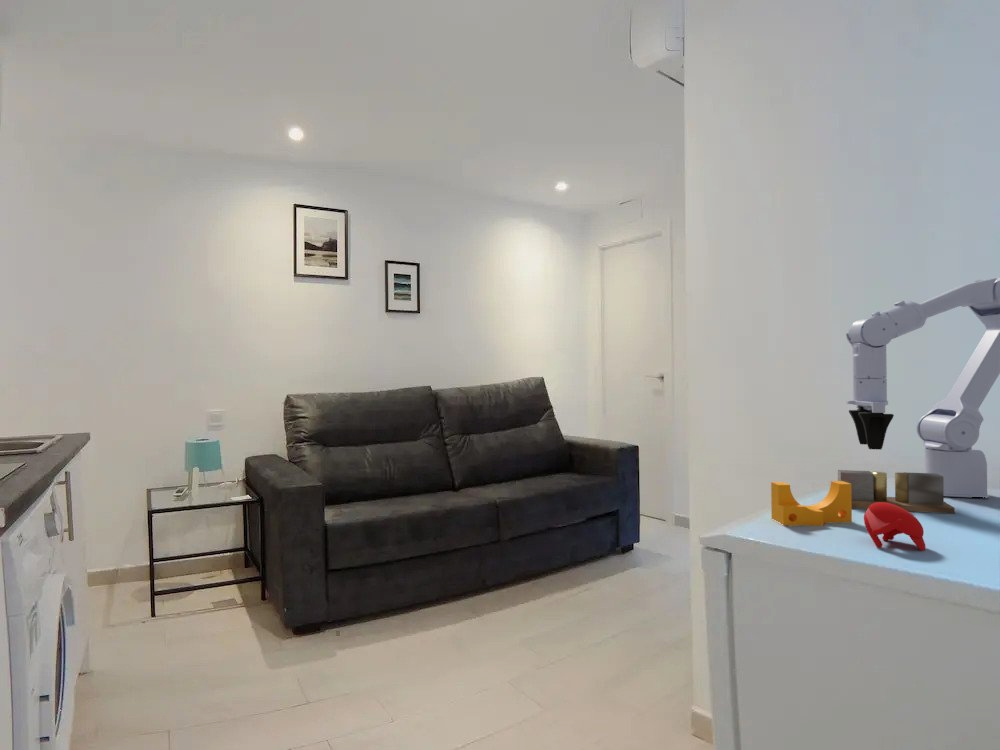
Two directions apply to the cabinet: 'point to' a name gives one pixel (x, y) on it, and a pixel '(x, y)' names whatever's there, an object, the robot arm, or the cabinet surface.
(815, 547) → the cabinet surface
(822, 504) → the pipe clamp
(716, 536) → the cabinet surface
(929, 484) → the hinge jig
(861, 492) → the grey post
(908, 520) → the red animal figurine
